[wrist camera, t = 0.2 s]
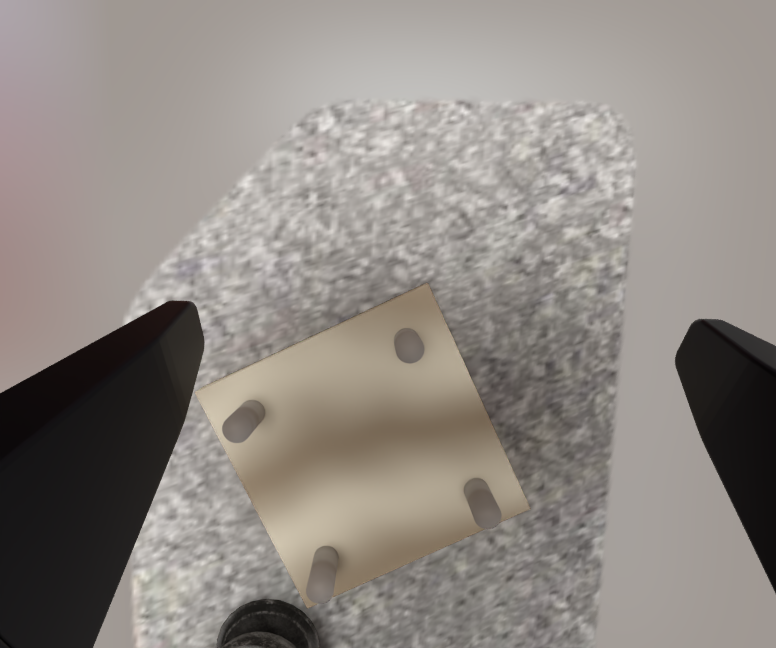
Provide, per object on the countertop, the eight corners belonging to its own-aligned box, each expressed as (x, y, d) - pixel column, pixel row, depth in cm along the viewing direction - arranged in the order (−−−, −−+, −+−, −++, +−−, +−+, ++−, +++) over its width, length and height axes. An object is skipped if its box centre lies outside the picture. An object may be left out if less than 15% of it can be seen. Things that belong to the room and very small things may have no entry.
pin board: (524, 499, 24) (548, 536, 21) (310, 595, 25) (298, 647, 21) (425, 283, 23) (434, 284, 20) (202, 387, 24) (171, 406, 20)
